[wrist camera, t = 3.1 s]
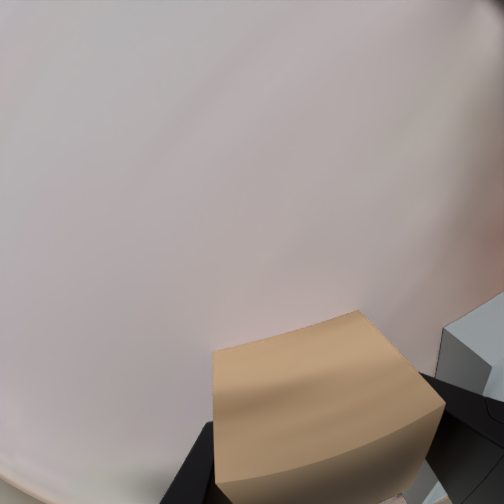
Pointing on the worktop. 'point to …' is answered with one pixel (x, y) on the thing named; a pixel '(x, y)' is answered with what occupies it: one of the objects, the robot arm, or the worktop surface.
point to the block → (320, 417)
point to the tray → (466, 374)
